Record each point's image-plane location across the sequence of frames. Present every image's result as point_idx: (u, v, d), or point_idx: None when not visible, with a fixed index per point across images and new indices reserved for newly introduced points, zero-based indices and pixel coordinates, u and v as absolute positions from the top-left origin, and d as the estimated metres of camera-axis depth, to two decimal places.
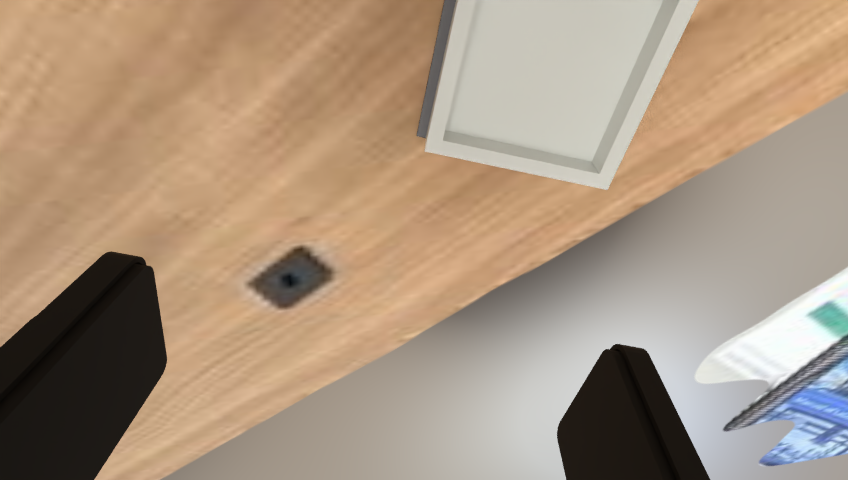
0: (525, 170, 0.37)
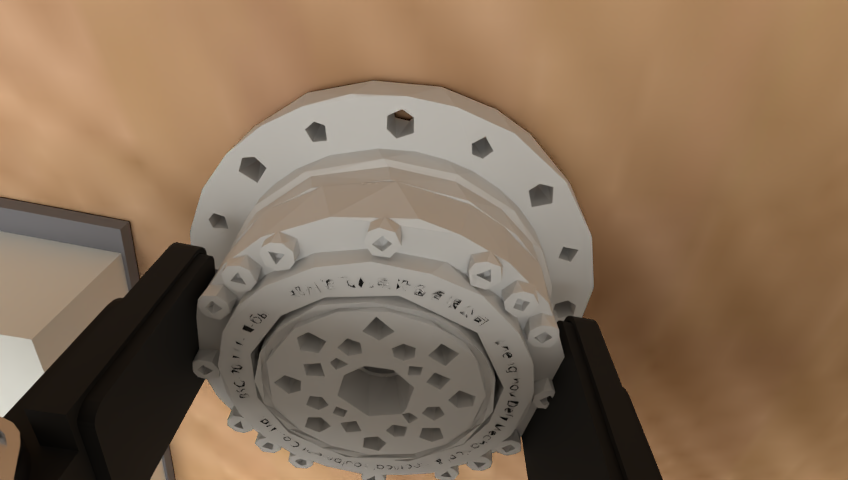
0: None
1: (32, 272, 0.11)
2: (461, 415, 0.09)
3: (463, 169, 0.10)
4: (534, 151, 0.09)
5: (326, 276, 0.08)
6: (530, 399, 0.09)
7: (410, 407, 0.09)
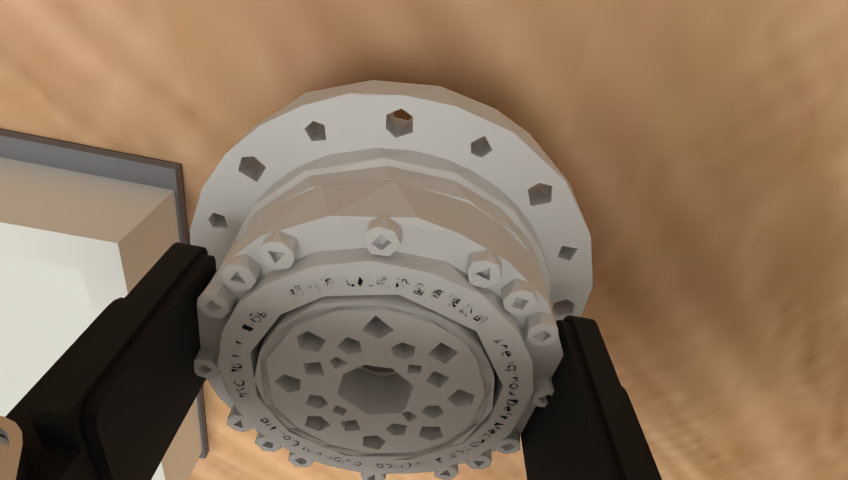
0: None
1: (108, 200, 0.14)
2: (460, 414, 0.09)
3: (463, 168, 0.10)
4: (533, 150, 0.09)
5: (325, 275, 0.08)
6: (529, 398, 0.09)
7: (409, 406, 0.09)
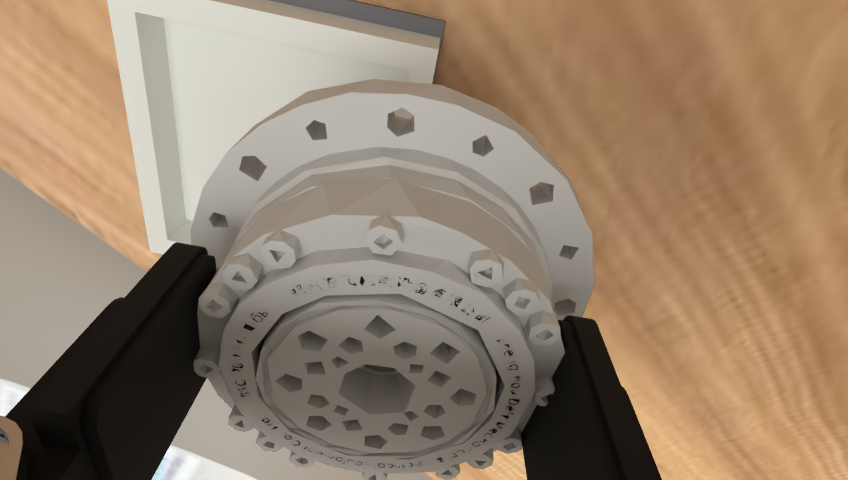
0: (135, 148, 0.25)
1: (413, 36, 0.23)
2: (462, 413, 0.09)
3: (464, 167, 0.10)
4: (534, 149, 0.09)
5: (327, 274, 0.08)
6: (531, 397, 0.09)
7: (411, 405, 0.09)
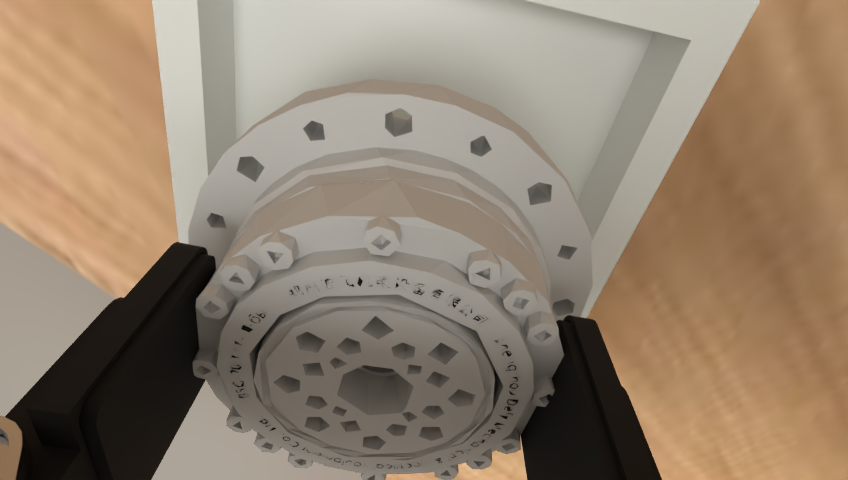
0: (176, 172, 0.15)
1: None
2: (461, 414, 0.09)
3: (462, 167, 0.09)
4: (532, 149, 0.09)
5: (325, 275, 0.08)
6: (530, 397, 0.09)
7: (409, 406, 0.09)
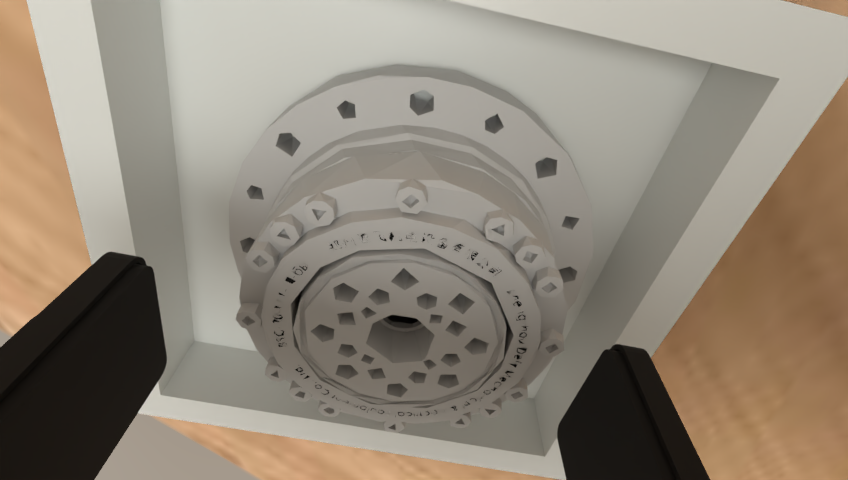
0: (93, 241, 0.12)
1: None
2: (475, 362, 0.10)
3: (478, 143, 0.11)
4: (540, 127, 0.11)
5: (361, 231, 0.09)
6: (537, 346, 0.10)
7: (430, 354, 0.10)
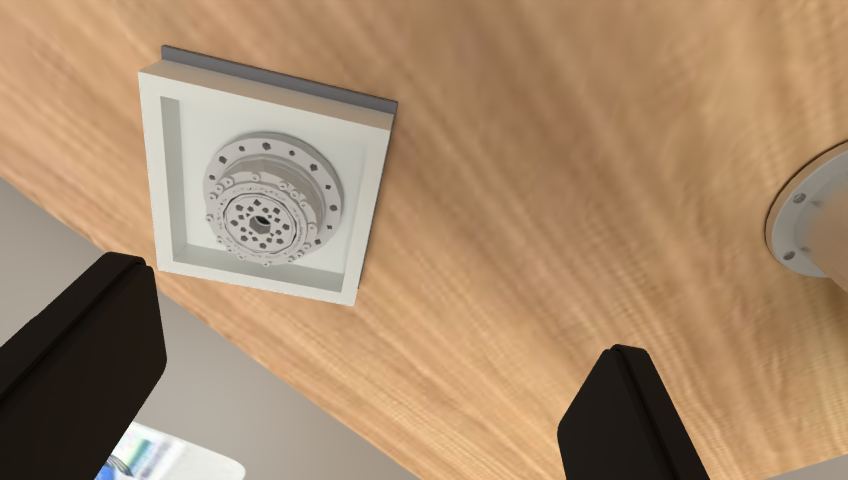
0: (152, 192, 0.32)
1: (372, 115, 0.31)
2: (287, 233, 0.31)
3: (287, 159, 0.31)
4: (308, 153, 0.31)
5: (241, 187, 0.29)
6: (306, 226, 0.31)
7: (271, 230, 0.31)
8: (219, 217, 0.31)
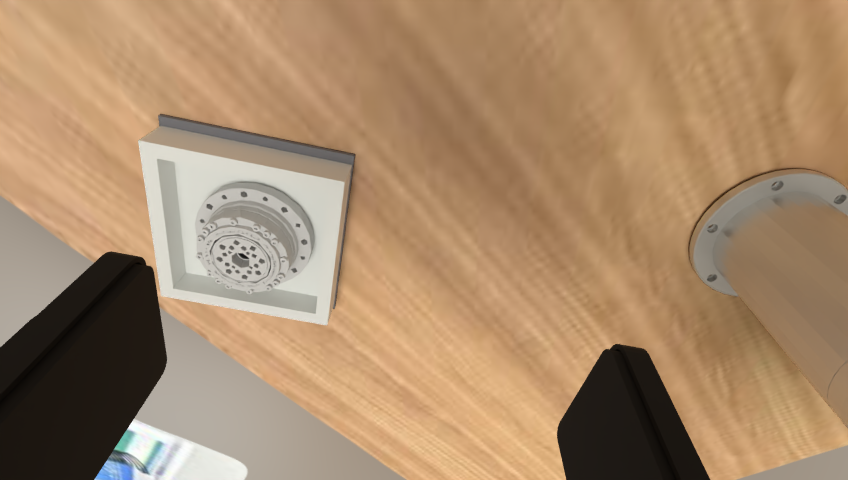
0: (154, 233, 0.38)
1: (332, 167, 0.37)
2: (263, 266, 0.37)
3: (261, 204, 0.37)
4: (278, 199, 0.37)
5: (222, 230, 0.36)
6: (278, 260, 0.37)
7: (250, 264, 0.37)
8: (207, 255, 0.37)
